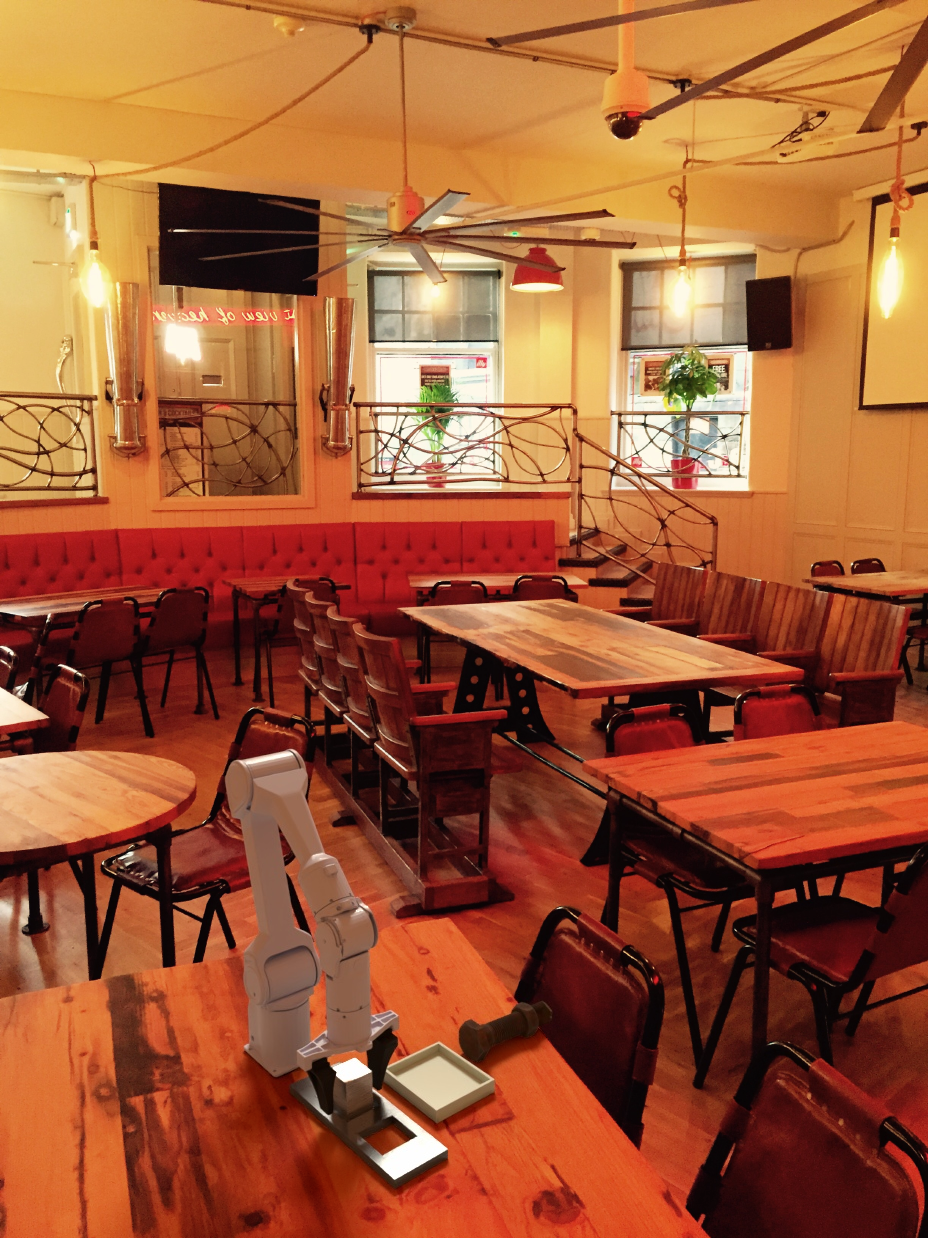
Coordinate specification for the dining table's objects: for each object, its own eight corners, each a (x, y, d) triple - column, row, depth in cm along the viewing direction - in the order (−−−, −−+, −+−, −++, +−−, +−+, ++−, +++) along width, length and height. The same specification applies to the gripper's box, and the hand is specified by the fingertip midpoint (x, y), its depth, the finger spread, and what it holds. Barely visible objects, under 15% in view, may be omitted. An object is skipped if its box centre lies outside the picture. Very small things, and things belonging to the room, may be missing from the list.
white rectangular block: (330, 1112, 128) (329, 1069, 127) (356, 1099, 130) (354, 1058, 129) (347, 1127, 125) (346, 1084, 124) (373, 1114, 127) (372, 1071, 126)
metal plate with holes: (289, 1093, 132) (289, 1085, 132) (340, 1070, 137) (339, 1062, 137) (394, 1189, 114) (394, 1180, 113) (448, 1158, 119) (448, 1149, 118)
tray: (382, 1081, 134) (382, 1068, 134) (439, 1053, 141) (438, 1041, 140) (436, 1123, 125) (436, 1110, 125) (494, 1092, 131) (494, 1079, 131)
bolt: (549, 1037, 148) (471, 1070, 139) (530, 1009, 151) (453, 1040, 142) (563, 1013, 145) (485, 1046, 136) (544, 985, 148) (466, 1016, 139)
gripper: (316, 1034, 118) (320, 1138, 120) (412, 993, 127) (414, 1090, 129) (286, 1011, 123) (290, 1110, 125) (380, 973, 132) (383, 1066, 134)
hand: (351, 1098), depth 127 cm, fingers open, 7 cm apart
